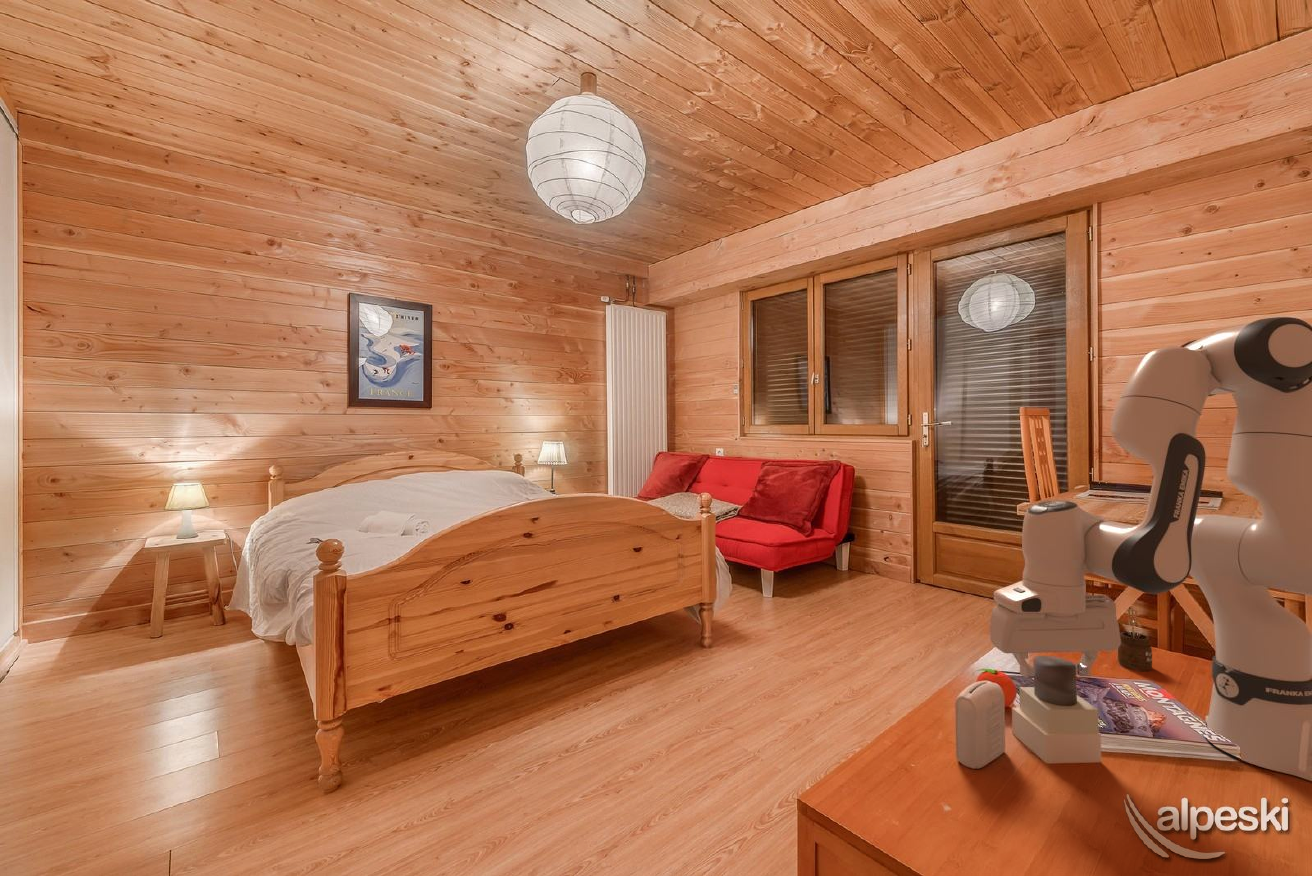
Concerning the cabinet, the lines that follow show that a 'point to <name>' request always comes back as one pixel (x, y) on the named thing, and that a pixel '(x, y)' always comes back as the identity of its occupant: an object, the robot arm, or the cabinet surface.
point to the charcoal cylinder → (1055, 680)
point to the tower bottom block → (1056, 742)
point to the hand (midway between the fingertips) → (1055, 675)
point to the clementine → (1000, 683)
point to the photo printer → (980, 724)
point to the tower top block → (1059, 714)
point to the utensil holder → (1135, 648)
